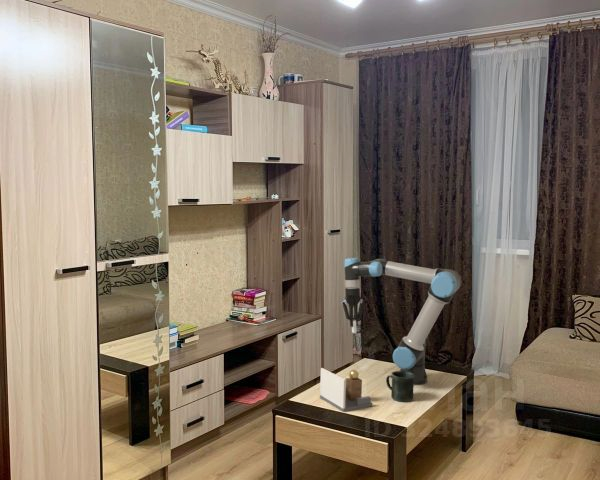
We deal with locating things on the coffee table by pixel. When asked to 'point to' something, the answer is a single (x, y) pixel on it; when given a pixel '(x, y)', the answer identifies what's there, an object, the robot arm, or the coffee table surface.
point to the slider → (353, 386)
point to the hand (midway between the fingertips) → (354, 332)
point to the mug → (401, 385)
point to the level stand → (339, 393)
